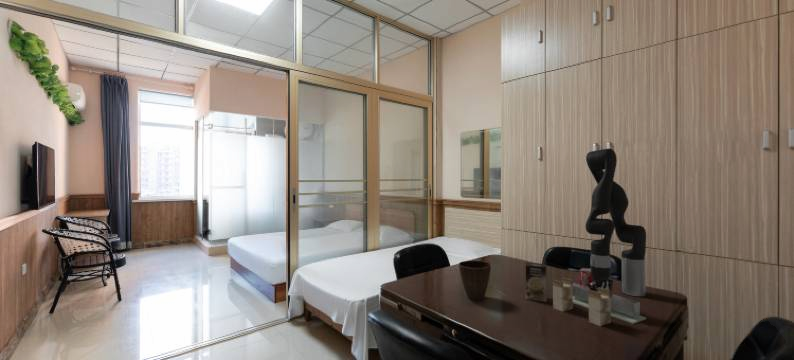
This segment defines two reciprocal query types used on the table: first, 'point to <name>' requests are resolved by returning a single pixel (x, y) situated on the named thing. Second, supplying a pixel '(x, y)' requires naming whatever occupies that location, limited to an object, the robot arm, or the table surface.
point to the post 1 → (562, 294)
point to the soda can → (585, 277)
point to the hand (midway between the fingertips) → (601, 304)
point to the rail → (616, 301)
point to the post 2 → (599, 307)
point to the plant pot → (475, 278)
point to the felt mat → (612, 312)
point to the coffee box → (536, 282)
